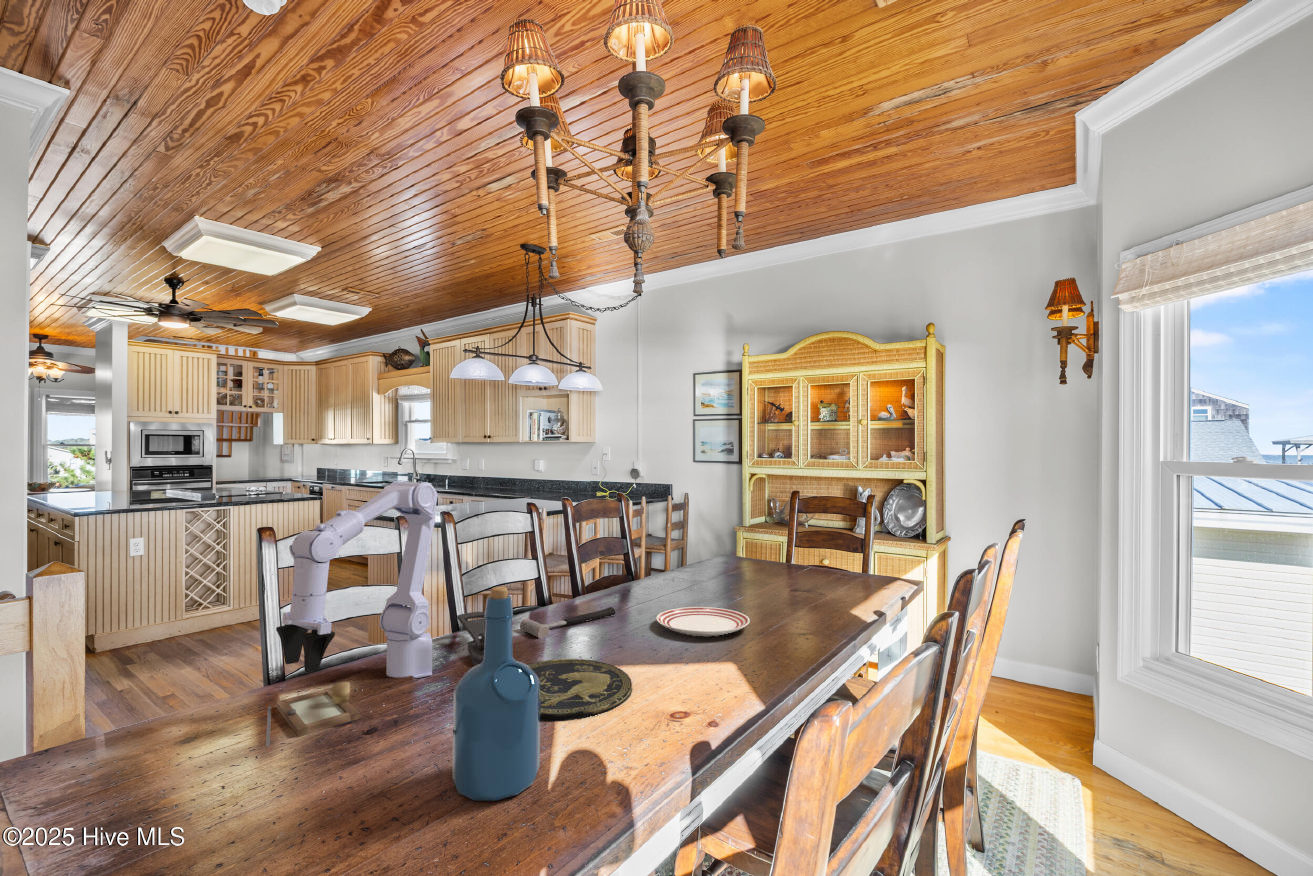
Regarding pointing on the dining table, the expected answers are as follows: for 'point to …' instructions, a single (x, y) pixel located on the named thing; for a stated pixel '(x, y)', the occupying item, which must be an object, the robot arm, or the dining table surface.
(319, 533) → the robot arm
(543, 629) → the rubber mallet
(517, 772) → the wine bottle
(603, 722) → the dining table surface
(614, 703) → the decorative plate
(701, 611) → the dinner plate
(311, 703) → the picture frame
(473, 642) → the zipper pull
